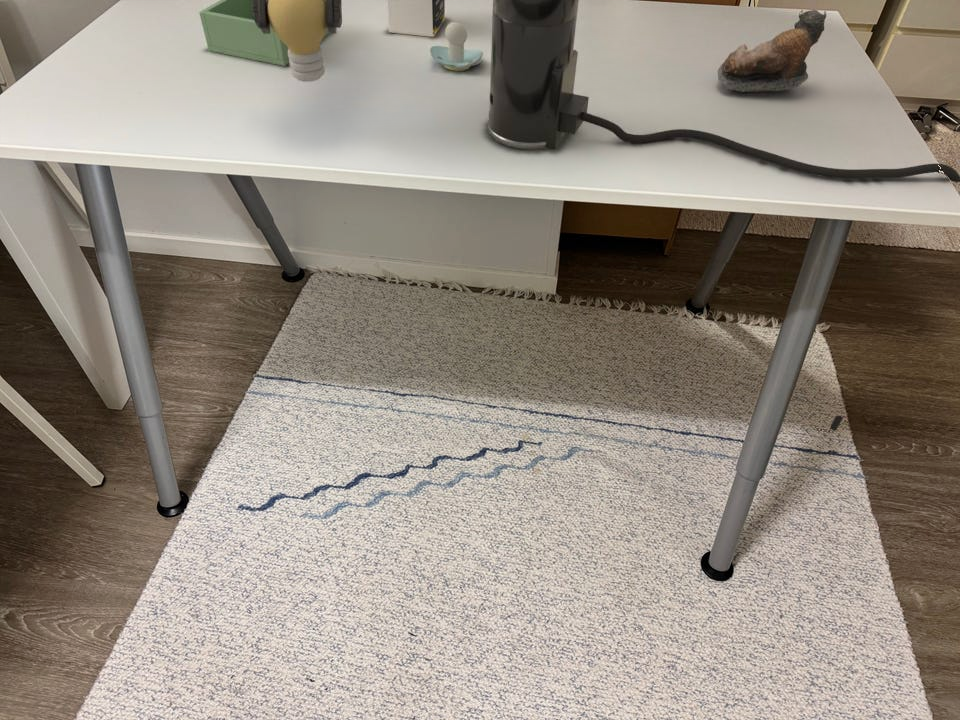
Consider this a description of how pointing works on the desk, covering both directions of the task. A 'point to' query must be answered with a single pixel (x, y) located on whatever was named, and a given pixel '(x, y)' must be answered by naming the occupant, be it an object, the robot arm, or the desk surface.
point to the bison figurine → (774, 59)
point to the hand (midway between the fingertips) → (298, 30)
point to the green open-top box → (241, 33)
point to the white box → (415, 16)
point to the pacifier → (456, 50)
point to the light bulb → (301, 34)
